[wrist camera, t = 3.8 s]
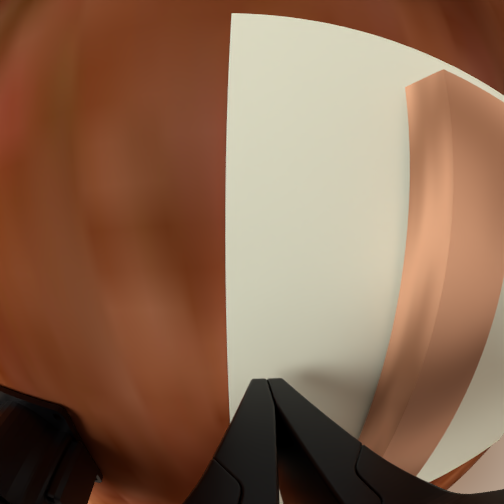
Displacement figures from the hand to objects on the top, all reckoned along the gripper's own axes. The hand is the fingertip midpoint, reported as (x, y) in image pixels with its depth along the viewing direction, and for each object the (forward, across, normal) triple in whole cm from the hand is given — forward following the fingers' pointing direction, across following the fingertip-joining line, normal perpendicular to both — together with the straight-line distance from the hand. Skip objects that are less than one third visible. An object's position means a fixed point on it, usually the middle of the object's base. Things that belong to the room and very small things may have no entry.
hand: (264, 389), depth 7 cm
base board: (+2, -12, +2) cm, 12 cm away
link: (+1, -6, +2) cm, 6 cm away
